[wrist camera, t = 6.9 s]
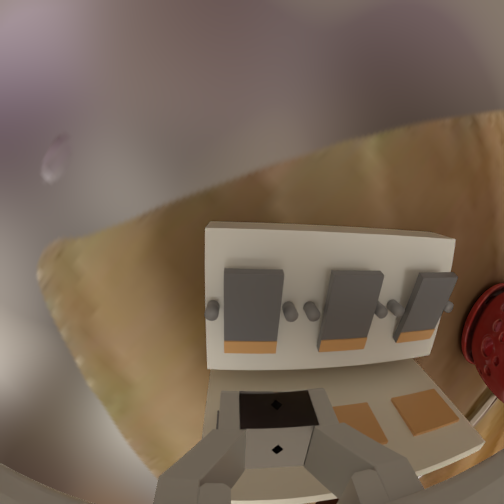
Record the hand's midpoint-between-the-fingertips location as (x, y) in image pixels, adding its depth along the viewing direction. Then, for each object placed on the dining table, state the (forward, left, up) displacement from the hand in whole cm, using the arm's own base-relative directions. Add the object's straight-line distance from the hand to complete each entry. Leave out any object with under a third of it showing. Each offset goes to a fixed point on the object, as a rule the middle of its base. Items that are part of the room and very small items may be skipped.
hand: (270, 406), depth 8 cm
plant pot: (-32, +8, -19) cm, 38 cm away
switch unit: (-8, +4, -19) cm, 20 cm away
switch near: (0, +3, -13) cm, 13 cm away
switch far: (-15, +3, -13) cm, 20 cm away
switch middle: (-8, +3, -13) cm, 15 cm away
